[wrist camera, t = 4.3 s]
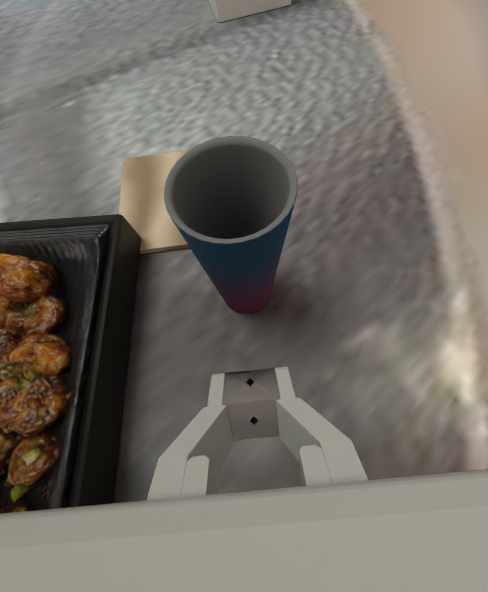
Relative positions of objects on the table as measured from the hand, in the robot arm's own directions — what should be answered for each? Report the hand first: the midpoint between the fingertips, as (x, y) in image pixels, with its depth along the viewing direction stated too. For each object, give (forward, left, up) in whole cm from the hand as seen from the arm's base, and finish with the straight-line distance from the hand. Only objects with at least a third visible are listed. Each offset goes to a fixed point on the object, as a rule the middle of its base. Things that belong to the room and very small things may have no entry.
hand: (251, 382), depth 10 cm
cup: (0, +9, -15) cm, 17 cm away
